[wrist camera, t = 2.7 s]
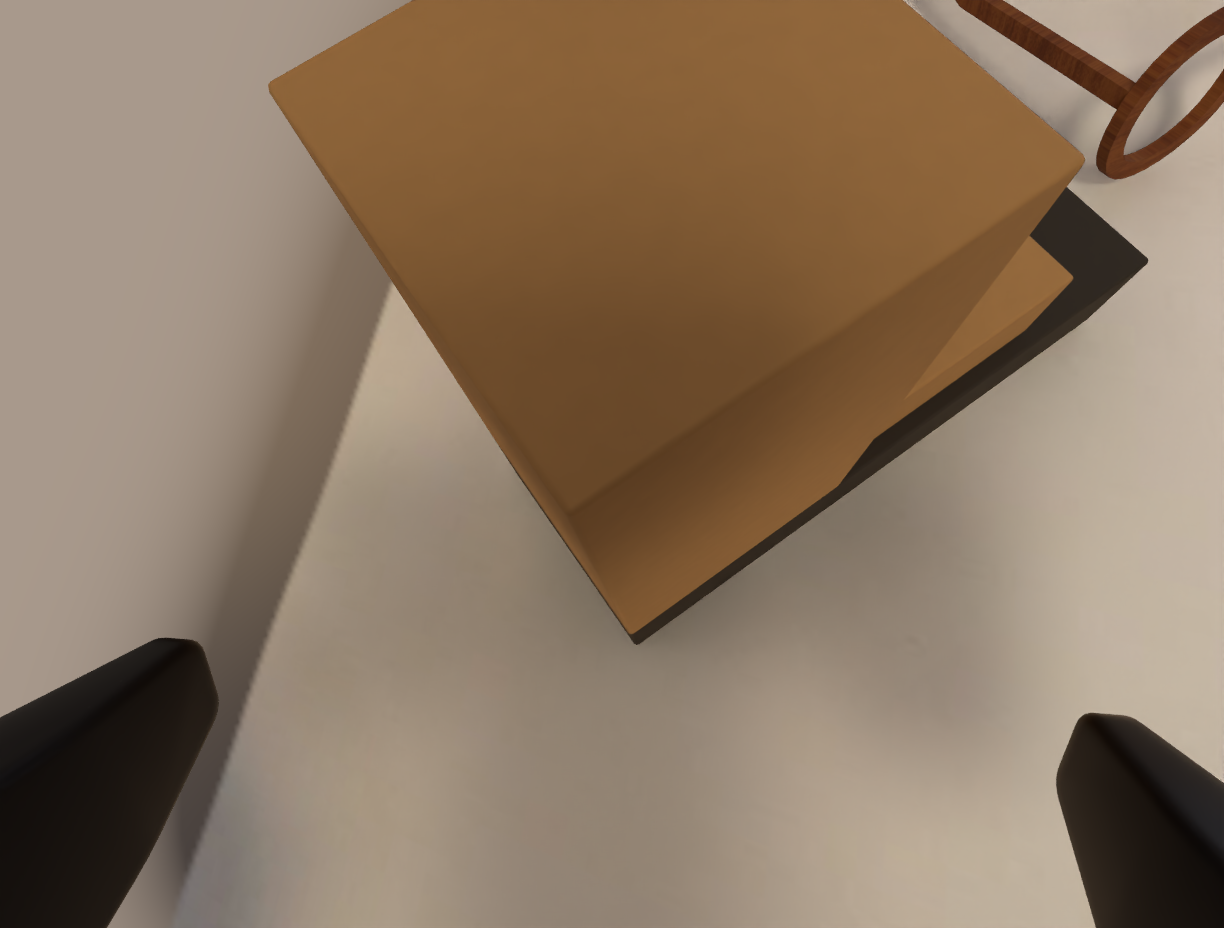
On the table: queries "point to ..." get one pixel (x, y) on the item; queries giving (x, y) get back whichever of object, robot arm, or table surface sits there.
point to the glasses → (1113, 81)
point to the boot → (702, 251)
